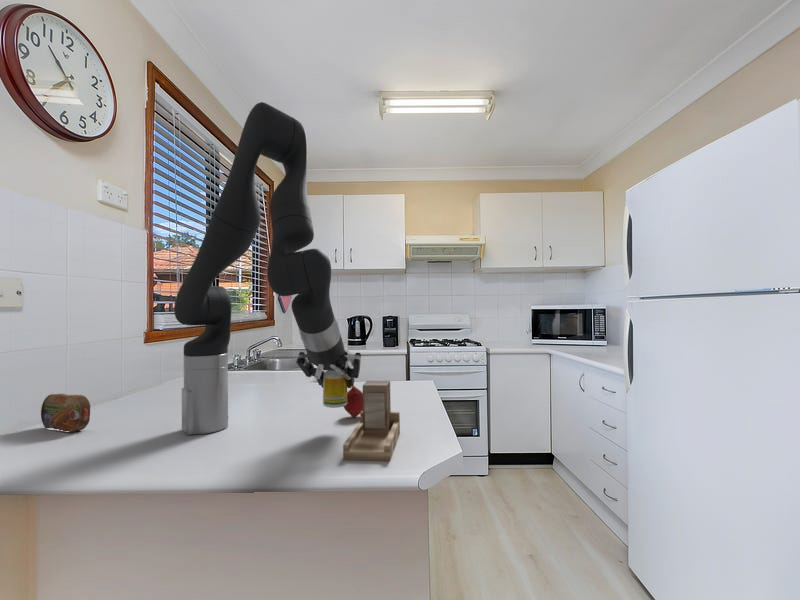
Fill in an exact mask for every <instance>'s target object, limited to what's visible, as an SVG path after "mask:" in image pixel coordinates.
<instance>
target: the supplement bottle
mask: <svg viewBox="0 0 800 600" xmlns="http://www.w3.org/2000/svg"><path fill="white" fill-rule="evenodd" d="M347 392H348V387H347V384H346V381H345V377H344V376H343V375H339V374H338V373H337V372H336V371H334V370H325V371H324V375H323V388H322V405H323V406H324V407H326V408H332V409H335V408H336V409H337V408H338V409H339V408H344V407H343V406H345V405H346V404H347Z"/></svg>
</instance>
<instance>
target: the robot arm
mask: <svg viewBox="0 0 800 600" xmlns="http://www.w3.org/2000/svg"><path fill="white" fill-rule="evenodd" d="M237 145H238V146H237V149H236V152H235V155H234V157H233V161H232V164H231V167H230V171H229V174H228V177H227V179H226V182H225V185H224V187H223V189H222V192H221V194H220V196H219V199H218V201H217V203H216V205H215V208H214V210H213V212H212V215H211V217H210V220H209V223H208V225H207V229H206V231H205V234H204V238H203V240H202V242H201V245H200V247H199V249H198V252H197V254H196V256H195V259H194V261H193V263H192V265H191V267H190V268H189V270H188V272H187V274H186V276H185V278H184V279H183V281H182V284H181V285H180V288H179V290H178V292H177V295H176V297H175V302H174V307H173V310H174V317H175V319H176V321H178V323H180V325H181V324H182V325H184V326H204V330H203V332H202V333H201V334H199V335H198V336H197V337H196V338H193V339H191V340H188V341H186V342H185V344H184V345H183V387H182V388H181V430H182V431H183V433H184V434H185V435H186V436H190V435H201V434H202V435H203V434H210V433H216V432H219V431H221V430H224V429H226V428H227V427H228V426H229V363H228V362H229V361H228V360H229V358H228V357H229V353H228V352H229V348H228V347H229V343H230V340H231V326H232V325H231V323H232V298H231V295H230V292H229V291H228V290H227V288H225V287H223V286H216V285H213V283H214V282H215V280H216V278H217V277H218V276H219V275H221V273H222V272H223V271H225V270H226V269H227V268H228V267H230V266H232V265H233V264H234V263H235V262H236V261H238V260H239V259H240V258H241V257H242V256H243V255H245V254H246V252H247V251H248V250H249V249H250V247H251V245H252V243H253V240H254V238H255V236H256V234H257V232H258V231H259V230H258V229H259V227H260V225H261V220H262V219H261V218H262V217H261V216H262V215H261V209H260V205H259V198H258V195H257V190H256V182H255V174H256V168H257V164H258V161H259V158H260V156H263V157H266V158H267V159H269V160H270V159H271V160H273V161H275V162H277V163H279V164H280V163H281V165H282V166H283V169H284V172H285V175H284V176H283V177H284V178H282V180H281V182H280V183H279V184H278V185H277V186H276V187H275V189H274V191H273V193H272V195H271V198H270V201H269V202H270V203H269V214H270V221H271V229H272V243H271V250H270V253H269V256H268V257H269V258H268V263H267V269H266V270H267V271H266V275H267V276H266V277H267V282H268V284H269V287H270V288H271V290H272V291H273V292H274V293H275V295H278V296H281V297H291V296H294V295H295V297H294V298H293V299H292V301H291V311H292V314H293V316H294V319H295V322H296V325H297V327H298V333H299V336H300V339H301V342H302V344H303V347H304V348H305V352H306V353H305V352H303V351H299V354H298V355H297V358H296V364H297V366H298V367H299V368H300V369H301V371H302V373H304V375H305V376H306V377H307V378H311V377H313V378H314V379H316V381H317V384H318V385H319V386H321V388H322V389H323V375H324V373H325V371H328V370H334V371H336V372H337V373H338V374H339V375H343V376H344V377H345V381H346V384H347V389H351V388H352V386H353V385H354V384H355V381H356V380H355V379H358V378H359V375H360V370H361V361H362V359H361V358H362V353H361V352H356V353H355V354H349V353H348V351H346V350H345V345H344V341H343V338H342V335H341V330H340V327H339V324H338V321H337V319H336V316H335V315H334V310H333V308H332V304H331V303H332V302H331V296H330V289H331V282H332V281H331V280H332V264H331V260H330V259H329V256H328V255H327V254H326V253H325V252H324V251H323V250H322V249H320V248H309V249H304V248H306V247H308V246H309V245H310V244H311V243H312V242H313V240H314V238H315V237H314V236H315V233H314V227H313V221H312V216H311V210H310V205H309V204H310V203H309V197H308V137H307V131H306V128H305V126H304V125H303V124H302V122H300V121H299V120H298V119H296V118H295V117H292V116H291V115H288V114H287V113H285V112H283V111H281V109H280V110H279V109H278V108H275V107H274V106H272V105H270V104H268V103H266V102H263V101H261V102H257V103H256V104H255V105H254V106H253V107H252V108H251V110H250V111H249V114H248V115H247V118H246V119H245V122H244V126H243V128H242V132H241V135H240V139H239V141H238V144H237ZM301 249H304V250H301ZM349 363H350V364H351V365H349ZM314 365H315V366H316V367H315V366H314ZM354 386H355V385H354Z"/></svg>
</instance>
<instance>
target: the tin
mask: <svg viewBox="0 0 800 600" xmlns="http://www.w3.org/2000/svg"><path fill="white" fill-rule="evenodd" d="M90 416H91V403H90V400H89V399H88V398H87V397H86V396H85V395H83V394H70V393H56V394H53V393H52V394H48V395H46V397H45V398H44V400H43V402H42V405H41V407H40V418H41V422H42V425H43V427H44V428H45V429H46V428H54V429H59V430H63V431H69V432H71V433H74V432H73V431H75V432H79V431H82V430H84V429H86V428H87V426H88V425H89V422H90V418H91V417H90ZM78 430H79V431H78Z"/></svg>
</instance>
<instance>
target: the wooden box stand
mask: <svg viewBox="0 0 800 600" xmlns="http://www.w3.org/2000/svg"><path fill="white" fill-rule="evenodd" d="M362 393H363V411H361V412H360V414H359V416H360V421H359V422H358V424H357V425H356V426H355V428H354V429H353V431H352V432H351V433H350V434H349V436H348V437H347V439H346V440H345V441H344V442H343V444H342V456H343V457H342V458H343V459H342V460H344V461H347V460H348V461H377V462H378V461H386V462H391V460H392V457H393V453H394V450H395V448H396V445H397V442H398V439H399V436H400V434H401V429H400V428H401V426H400V425H401V424H400V423H401V422H400V416H401V415H400V411H392V410H391V408H392V407H391V380H366V381H365V382H364V383H363V384H362Z"/></svg>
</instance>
